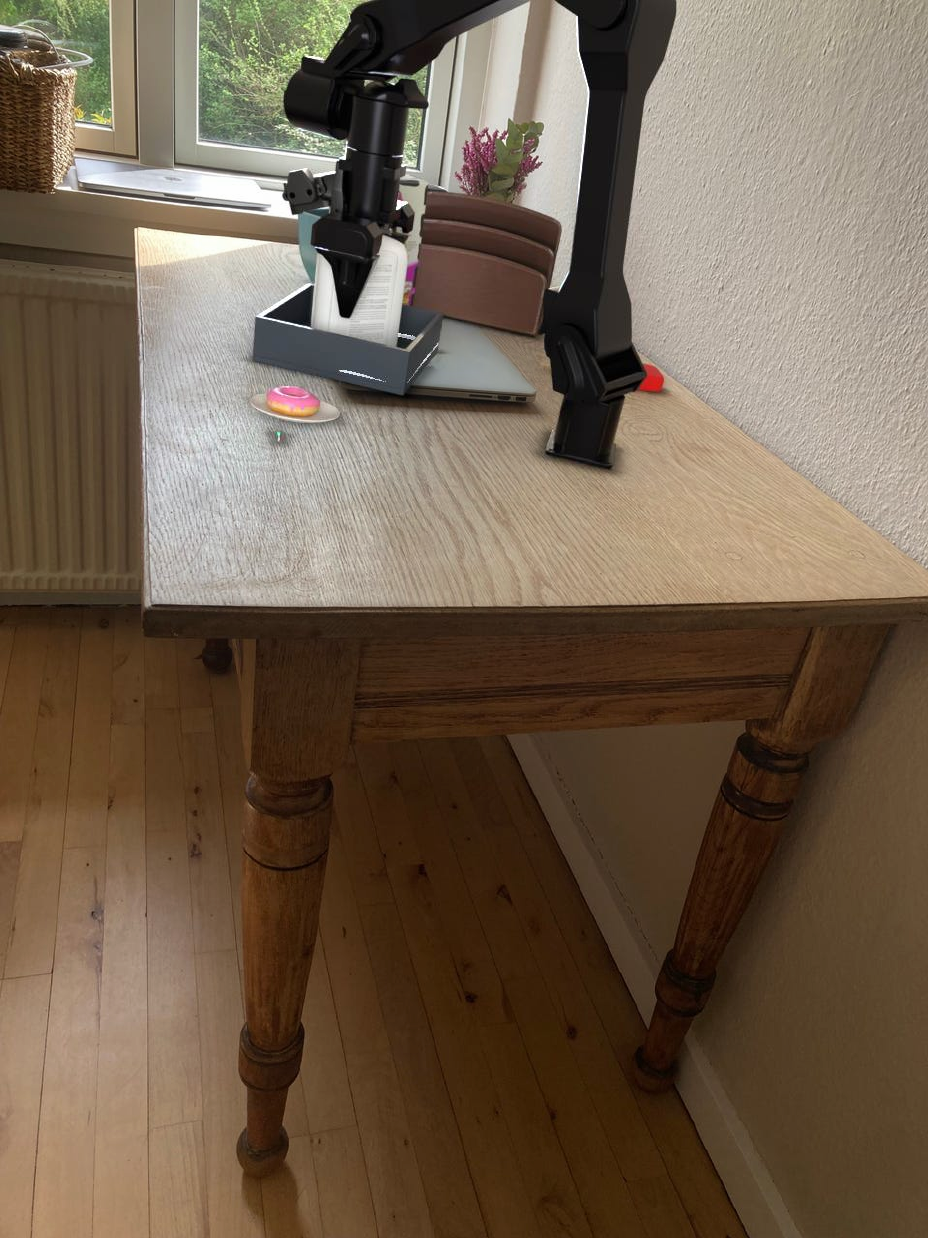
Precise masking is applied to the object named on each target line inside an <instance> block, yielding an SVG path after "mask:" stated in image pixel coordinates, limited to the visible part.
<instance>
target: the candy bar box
mask: <svg viewBox="0 0 928 1238" xmlns="http://www.w3.org/2000/svg"><path fill="white" fill-rule="evenodd" d="M333 171H334V170H332V171H331V172H333ZM428 184H430V182H428V181H426V180H425V179H422V178H419V177H417V176H413V175H412V174H407V173H406V174H405V176H403V177H401V178H400V185H399V193H398V200H399V201H403V202H408V203H409V204H410V206H411V208H412V209H413V211H414V212H415V217H414V224H413V230H412V231H411V232H409V233H408V234H407V235H409V237H408V239H407V240H406V242H405V243H404V246H405V248H406V251H407V258H408V264H407V272H406V279H405V287H404V294H403V302H402V304H404V305H408V306H413V301H414V293H415V285H416V277H417V269H418V262H419V253H420V245H421V238H422V231H423V223H424V214H425V207H426V200H427V191H428ZM328 208H329V211H328V214H329V213H330V206H329V207H328ZM396 232H399V233H402V228H400V227H397V229H396ZM403 234H406V233H403Z"/></svg>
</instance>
